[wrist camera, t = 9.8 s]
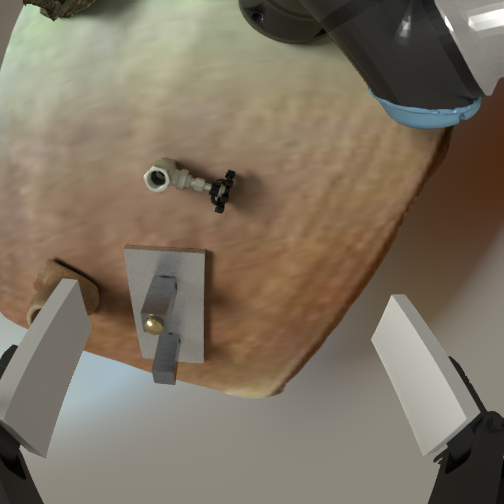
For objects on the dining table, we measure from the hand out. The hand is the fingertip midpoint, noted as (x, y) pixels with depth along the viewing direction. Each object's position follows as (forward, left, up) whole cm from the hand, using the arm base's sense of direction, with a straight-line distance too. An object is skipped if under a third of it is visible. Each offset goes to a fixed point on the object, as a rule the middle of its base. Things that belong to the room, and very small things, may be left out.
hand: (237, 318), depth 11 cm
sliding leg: (+10, +23, -33) cm, 41 cm away
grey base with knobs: (+10, +30, -35) cm, 47 cm away
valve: (+6, +3, -35) cm, 36 cm away
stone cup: (+31, +25, -35) cm, 53 cm away
